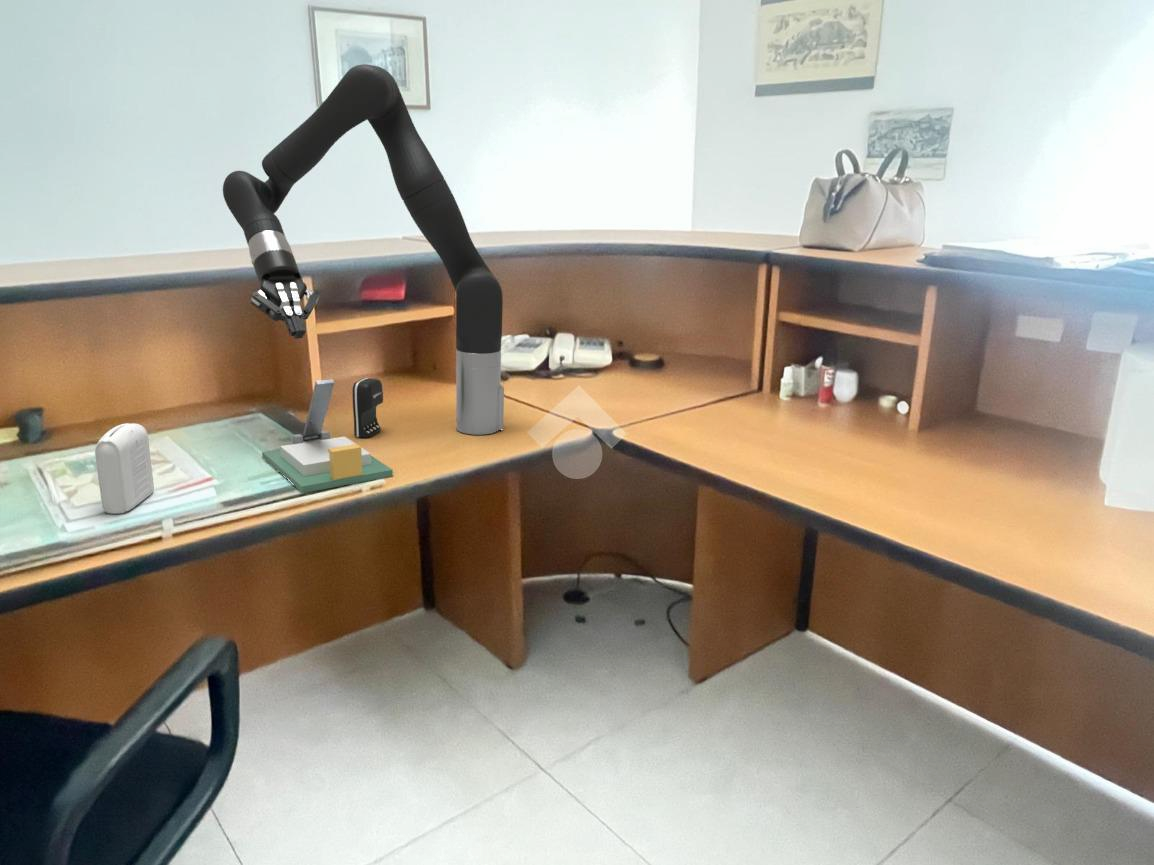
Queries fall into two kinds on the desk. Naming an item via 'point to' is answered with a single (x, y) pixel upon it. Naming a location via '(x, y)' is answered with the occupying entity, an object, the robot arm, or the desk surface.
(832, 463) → the desk surface
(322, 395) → the gray flat bar
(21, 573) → the desk surface
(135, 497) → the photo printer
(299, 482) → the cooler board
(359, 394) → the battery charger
